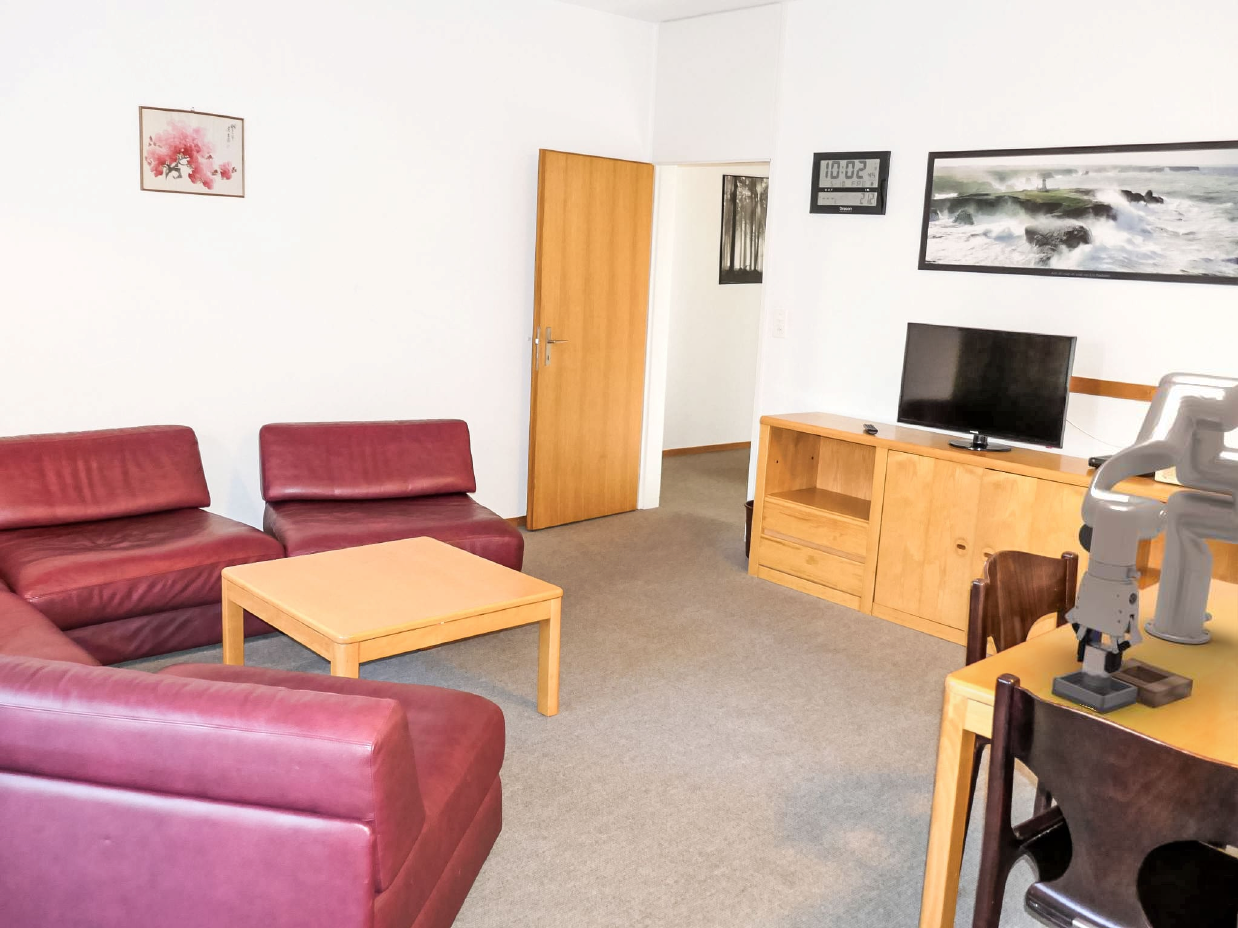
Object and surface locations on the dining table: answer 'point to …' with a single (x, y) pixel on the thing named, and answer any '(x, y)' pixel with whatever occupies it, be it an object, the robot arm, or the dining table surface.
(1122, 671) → the holder block
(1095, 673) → the steel peg
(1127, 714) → the dining table surface
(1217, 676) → the dining table surface
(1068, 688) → the tray
